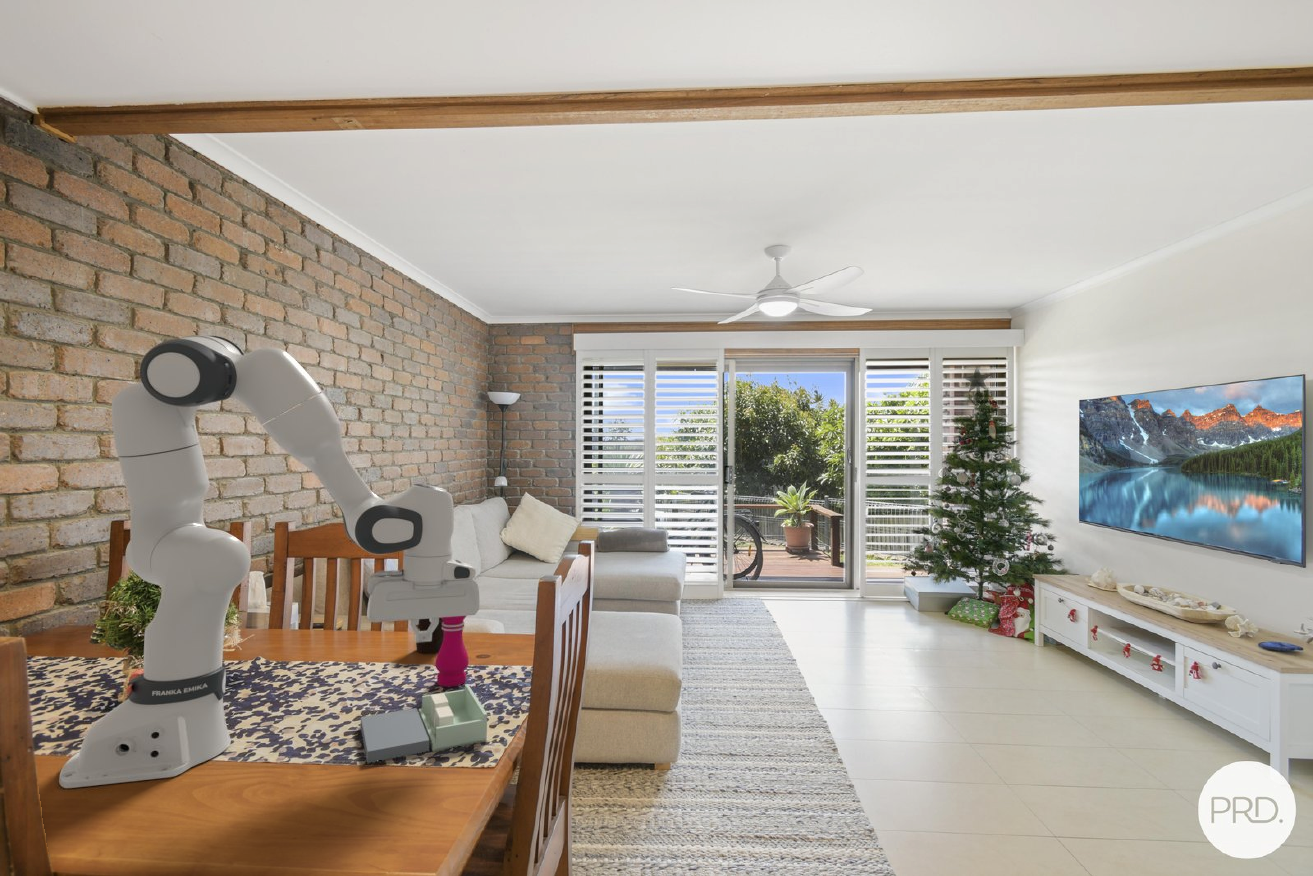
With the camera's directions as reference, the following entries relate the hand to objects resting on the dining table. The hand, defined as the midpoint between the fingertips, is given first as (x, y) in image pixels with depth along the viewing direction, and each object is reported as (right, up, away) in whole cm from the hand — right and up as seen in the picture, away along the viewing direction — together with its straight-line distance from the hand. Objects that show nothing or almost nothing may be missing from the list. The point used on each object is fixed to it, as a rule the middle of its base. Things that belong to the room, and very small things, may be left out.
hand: (422, 641), depth 123 cm
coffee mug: (-14, -16, +43) cm, 48 cm away
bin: (+6, -17, 0) cm, 17 cm away
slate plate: (-3, -16, -5) cm, 17 cm away
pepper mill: (-2, -17, +23) cm, 28 cm away
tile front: (+4, -14, -5) cm, 15 cm away
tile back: (+2, -14, +1) cm, 14 cm away
